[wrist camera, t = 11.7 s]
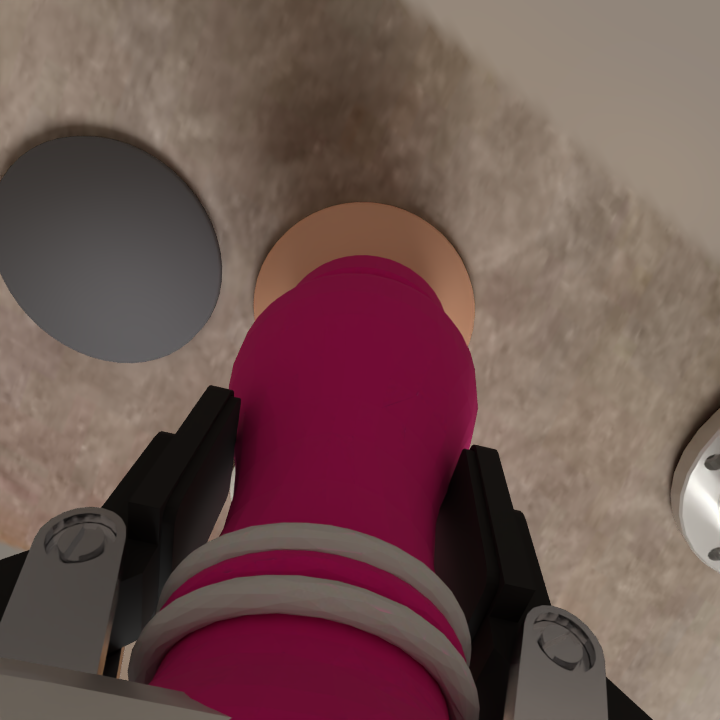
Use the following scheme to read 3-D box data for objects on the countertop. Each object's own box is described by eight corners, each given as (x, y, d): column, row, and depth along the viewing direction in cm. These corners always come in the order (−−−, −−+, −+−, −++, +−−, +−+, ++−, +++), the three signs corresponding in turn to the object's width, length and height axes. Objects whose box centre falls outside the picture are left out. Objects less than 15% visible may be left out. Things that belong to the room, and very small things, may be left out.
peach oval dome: (503, 230, 20) (507, 235, 19) (437, 420, 24) (438, 430, 23) (274, 175, 19) (269, 178, 19) (247, 377, 23) (242, 386, 23)
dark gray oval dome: (11, 98, 19) (-4, 97, 18) (247, 186, 20) (242, 188, 19) (-2, 316, 22) (-15, 322, 22) (198, 381, 23) (192, 389, 22)
